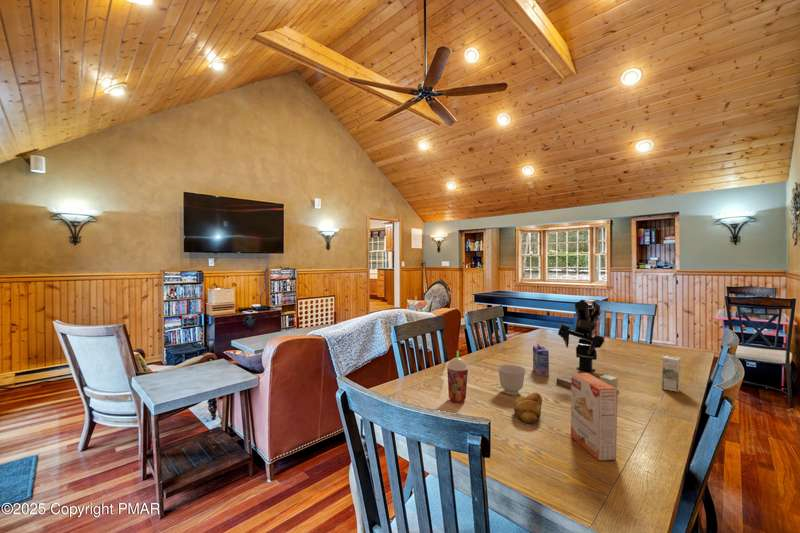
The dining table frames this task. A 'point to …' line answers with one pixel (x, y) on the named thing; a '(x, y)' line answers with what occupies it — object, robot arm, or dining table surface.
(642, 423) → the dining table surface
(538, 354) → the ink cartridge box
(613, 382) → the sage cube
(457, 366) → the smoothie
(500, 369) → the teacup
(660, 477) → the dining table surface
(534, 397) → the bread roll
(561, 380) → the walnut board
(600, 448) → the cracker box
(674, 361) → the syrup box
